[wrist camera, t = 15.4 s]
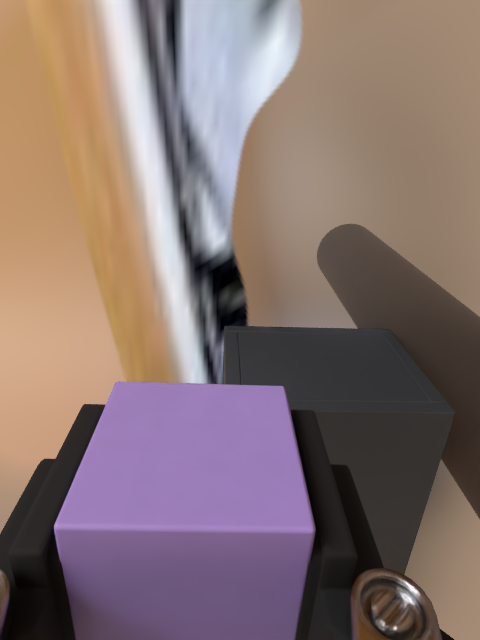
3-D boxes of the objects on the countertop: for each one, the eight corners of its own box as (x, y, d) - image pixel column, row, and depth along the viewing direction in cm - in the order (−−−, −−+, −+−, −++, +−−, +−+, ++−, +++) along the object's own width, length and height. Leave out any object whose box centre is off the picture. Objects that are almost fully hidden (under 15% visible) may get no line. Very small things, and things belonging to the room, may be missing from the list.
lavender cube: (271, 507, 12) (291, 676, 8) (125, 504, 12) (79, 677, 8) (285, 384, 10) (318, 530, 7) (114, 380, 10) (50, 527, 6)
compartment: (360, 466, 32) (404, 576, 25) (220, 465, 32) (219, 577, 24) (390, 329, 28) (455, 412, 20) (224, 325, 27) (225, 409, 19)
